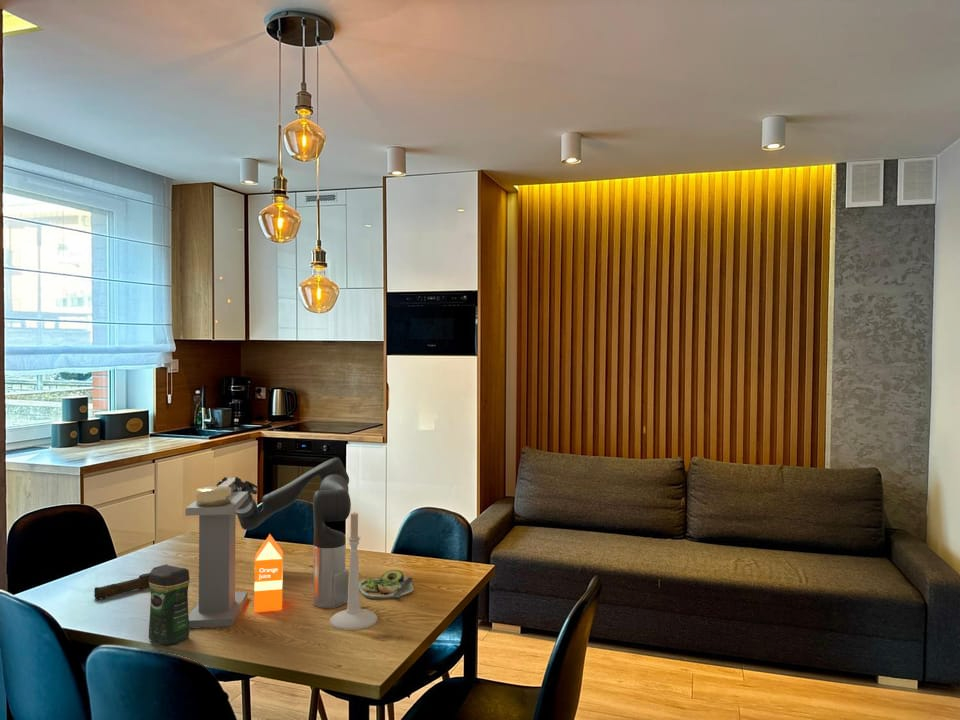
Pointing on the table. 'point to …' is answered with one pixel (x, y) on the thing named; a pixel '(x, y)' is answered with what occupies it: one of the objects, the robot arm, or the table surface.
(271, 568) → the orange juice
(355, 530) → the candlestick
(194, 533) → the table surface
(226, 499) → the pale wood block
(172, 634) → the coffee jar
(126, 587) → the hand tool
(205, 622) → the shelf
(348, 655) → the table surface
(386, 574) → the avocado toast plate
